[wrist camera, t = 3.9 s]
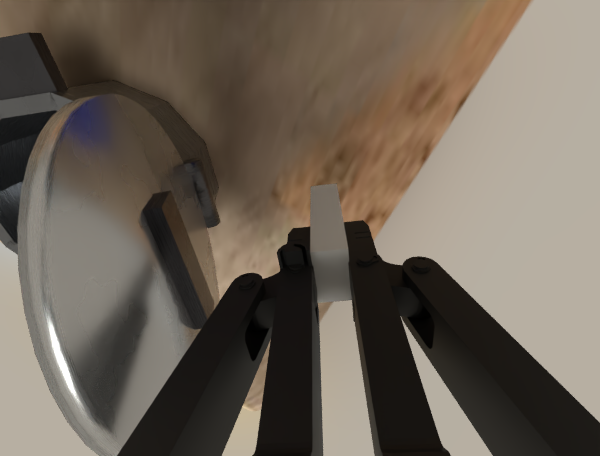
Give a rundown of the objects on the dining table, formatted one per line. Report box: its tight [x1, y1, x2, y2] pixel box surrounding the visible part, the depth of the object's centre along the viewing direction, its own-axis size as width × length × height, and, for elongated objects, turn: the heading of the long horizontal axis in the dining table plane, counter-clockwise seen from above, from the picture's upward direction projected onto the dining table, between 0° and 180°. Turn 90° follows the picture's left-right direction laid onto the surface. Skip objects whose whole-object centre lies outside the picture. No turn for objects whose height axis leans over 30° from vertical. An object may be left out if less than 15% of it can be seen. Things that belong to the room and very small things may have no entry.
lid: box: [17, 94, 219, 456], centre depth 15 cm, size 16×16×2 cm
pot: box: [0, 33, 220, 254], centre depth 26 cm, size 22×18×7 cm
